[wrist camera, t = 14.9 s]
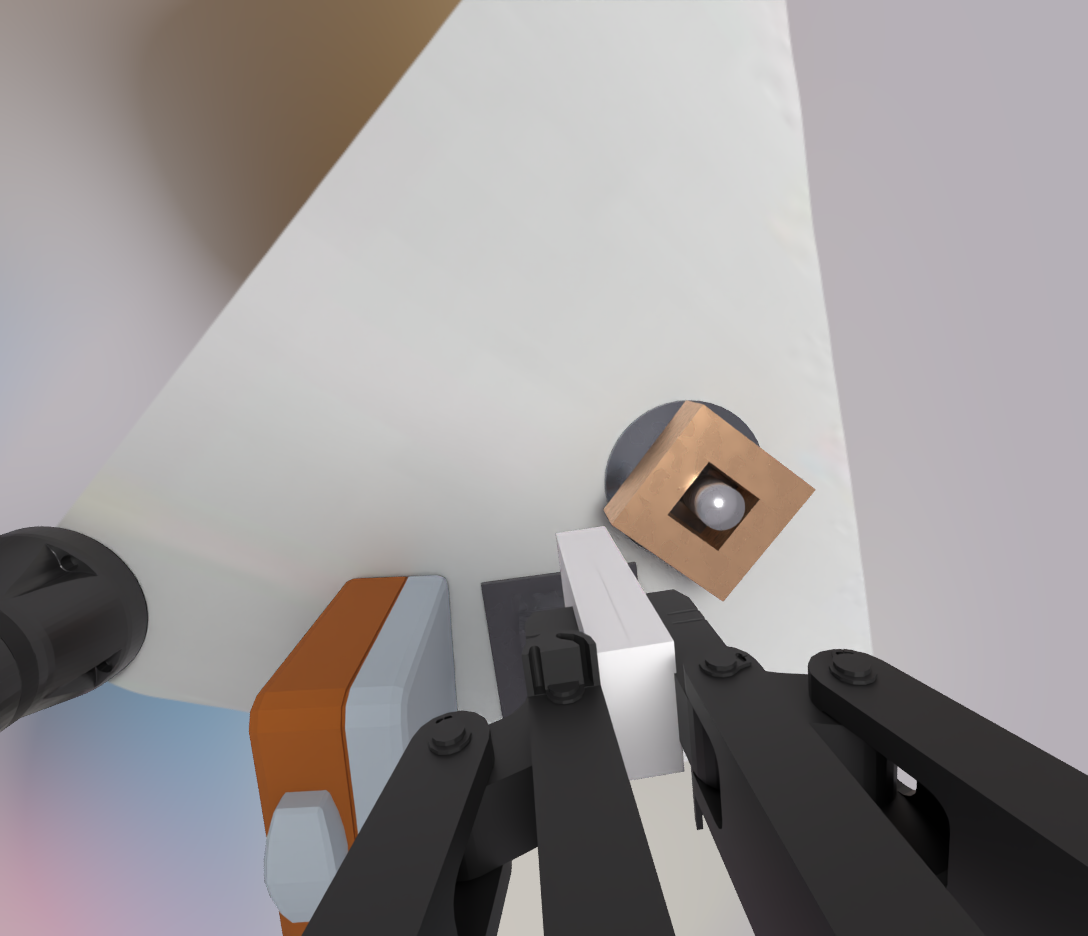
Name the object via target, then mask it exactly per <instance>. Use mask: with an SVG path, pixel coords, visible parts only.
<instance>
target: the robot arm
mask: <svg viewBox="0 0 1088 936" xmlns="http://www.w3.org/2000/svg"><path fill="white" fill-rule="evenodd" d="M556 540H557V547H558V555H559V563H560V571H561V579H562V587H563V594H564V602H565V607H564V608H557V609H551V610H544V611H538V612H532V614H531V615H530V617H529V618H528V620H527V621H526V623H525V636H526V645H525V646H524V648H523V651H522V655H521V656H522V663H523V670H524V676H525V683H526V690H527V698H526V700H525V702H524V703H523V704H522V705H521V706H520V708H519V709H517V710H516V711H515V712H513V713H512V714H511V715H509V716H507V717H505V718H503V719H501V720H499V721H496V722H494V723H491V724H489V725H488V723H487V721H486V719H485V718H484V717H482V716H480V715H479V714H477V713H475V712H468V711H456V712H449V713H446V714H443V715H440V716H438V717H435V718H433V719H432V720H430V721H429V722H427V723H426V724H424V725H423V726H421V727H420V729H419V730H418V731H417V732H416V733H415V735H414V736H413V737H412V739H411V740H410V742H409V744H408V746H407V748H406V749H405V751H404V753H403V755H402V757H401V758H400V760H399V762H398V764H397V765H396V767H395V769H394V771H393V773H392V774H391V776H390V778H389V780H388V782H387V783H386V785H385V787H384V789H383V791H382V792H381V794H380V796H379V798H378V799H377V801H376V803H375V805H374V807H373V808H372V810H371V812H370V814H369V816H368V817H367V819H366V821H365V823H364V825H363V826H362V828H361V830H360V832H359V833H358V835H357V837H356V839H355V841H354V842H353V844H352V846H351V848H350V850H349V851H348V853H347V855H346V857H345V858H344V860H343V862H342V864H341V866H340V867H339V869H338V871H337V873H336V875H335V876H334V878H333V880H332V882H331V884H330V885H329V887H328V889H327V891H326V892H325V894H324V896H323V898H322V900H321V901H320V903H319V905H318V907H317V909H316V910H315V912H314V914H313V916H312V918H311V919H310V921H309V923H308V925H307V926H306V928H305V930H304V932H303V934H302V935H301V936H497V932H498V928H499V923H500V919H501V915H502V910H503V906H504V902H505V897H506V893H507V889H508V884H509V880H510V875H511V869H512V860H513V859H515V858H517V857H519V856H521V855H523V854H525V853H527V852H528V851H530V850H532V849H534V848H536V847H538V855H539V870H540V885H541V899H542V913H543V928H544V936H675V933H674V929H673V926H672V923H671V919H670V916H669V913H668V909H667V906H666V902H665V900H664V896H663V892H662V889H661V886H660V882H659V879H658V876H657V872H656V869H655V866H654V862H653V859H652V856H651V852H650V849H649V846H648V842H647V839H646V835H645V832H644V829H643V825H642V822H641V818H640V815H639V812H638V808H637V805H636V802H635V799H634V795H633V792H632V788H631V785H630V782H629V781H630V780H636V779H642V778H648V777H654V776H660V775H666V774H672V773H677V772H684V761H683V750H684V752H685V754H686V756H687V758H688V760H689V763H690V765H691V772H692V786H693V798H694V811H695V821H696V826H697V830H700V829H703V820H702V815H704V818H705V820H706V822H707V825H708V827H709V829H710V831H711V834H712V836H713V839H714V841H715V843H716V846H717V848H718V850H719V852H720V855H721V857H722V860H723V862H724V864H725V867H726V869H727V871H728V873H729V876H730V878H731V880H732V883H733V885H734V887H735V890H736V892H737V894H738V897H739V899H740V901H741V904H742V906H743V908H744V911H745V913H746V915H747V917H748V920H749V922H750V924H751V926H752V929H753V931H754V934H755V936H1088V775H1086V774H1084V773H1082V772H1081V771H1079V770H1077V769H1075V768H1074V767H1072V766H1070V765H1068V764H1066V763H1065V762H1063V761H1061V760H1059V759H1057V758H1055V757H1054V756H1052V755H1050V754H1048V753H1047V752H1045V751H1043V750H1041V749H1040V748H1038V747H1036V746H1034V745H1032V744H1031V743H1029V742H1027V741H1025V740H1023V739H1022V738H1020V737H1018V736H1016V735H1015V734H1013V733H1011V732H1009V731H1007V730H1006V729H1004V728H1002V727H1000V726H998V725H997V724H995V723H993V722H991V721H990V720H988V719H986V718H984V717H982V716H980V715H979V714H977V713H975V712H974V711H972V710H970V709H968V708H966V707H964V706H963V705H961V704H959V703H958V702H956V701H954V700H952V699H950V698H948V697H947V696H945V695H943V694H941V693H940V692H938V691H936V690H934V689H932V688H931V687H929V686H927V685H925V684H923V683H922V682H920V681H918V680H916V679H915V678H913V677H911V676H909V675H908V674H906V673H904V672H902V671H900V670H898V669H897V668H895V667H893V666H891V665H890V664H888V663H886V662H884V661H882V660H880V659H878V658H876V657H873V656H871V655H869V654H866V653H862V652H857V651H853V650H848V649H843V650H842V649H832V650H827V651H822V652H819V653H817V654H816V655H814V656H812V657H811V659H810V661H809V663H808V674H790V673H776V672H768V671H765V670H764V669H763V667H762V666H761V665H760V664H759V663H758V661H757V660H756V659H754V658H753V657H752V656H751V655H749V654H748V653H747V652H744V651H742V650H739V649H737V648H733V647H727V646H726V645H725V643H724V642H723V641H722V640H721V638H720V637H719V636H718V634H717V633H716V632H715V630H714V629H713V628H712V627H711V625H710V624H709V623H708V621H707V620H705V618H704V616H703V615H702V614H701V612H700V611H698V609H697V607H696V606H695V605H694V603H693V602H692V601H691V599H690V598H689V597H687V596H685V595H683V594H681V593H679V592H678V591H676V590H674V589H673V590H666V591H660V592H653V593H646V594H645V592H644V590H643V589H642V587H641V585H640V584H639V582H638V580H637V579H636V577H635V575H634V574H633V572H632V570H631V569H630V567H629V565H628V564H627V562H626V560H625V559H624V557H623V555H622V554H621V552H620V550H619V549H618V547H617V545H616V544H615V542H614V540H613V539H612V537H611V535H610V534H609V532H608V530H607V529H606V527H605V526H601V527H594V528H587V529H580V530H573V531H566V532H559V533H556ZM146 628H147V609H146V604H145V600H144V596H143V594H142V591H141V589H140V586H139V584H138V582H137V581H136V579H135V577H134V576H133V574H132V573H131V571H130V570H129V569H128V567H127V566H126V565H125V564H124V563H123V562H122V561H121V560H120V559H119V558H118V557H117V556H116V555H115V554H114V553H113V552H111V551H110V550H109V549H108V548H106V547H105V546H103V545H102V544H100V543H98V542H97V541H95V540H93V539H91V538H89V537H87V536H85V535H82V534H80V533H77V532H74V531H70V530H66V529H62V528H56V527H29V528H22V529H18V530H15V531H12V532H9V533H6V534H3V535H0V732H1V731H3V730H4V729H5V728H7V727H8V726H10V725H11V724H12V723H14V722H15V721H17V720H18V719H19V718H21V717H24V716H27V715H30V714H32V713H35V712H38V711H40V710H42V709H46V708H48V707H51V706H54V705H56V704H59V703H62V702H65V701H67V700H70V699H73V698H75V697H78V696H81V695H83V694H86V693H88V692H90V691H92V690H94V689H96V688H97V687H99V686H101V685H102V684H104V683H105V682H107V681H108V680H109V679H111V678H112V677H113V676H114V675H116V674H117V673H118V672H120V671H121V670H122V669H123V668H125V667H126V666H127V665H128V664H129V663H130V662H131V661H132V660H133V658H134V657H135V656H136V654H137V653H138V651H139V649H140V648H141V645H142V643H143V640H144V637H145V633H146ZM682 747H683V748H682ZM897 766H898V767H899V768H901V769H902V770H903V771H905V772H906V773H907V774H909V775H910V776H912V777H913V778H914V779H915V780H917V789H916V790H912V789H911V788H909V787H907V786H906V785H904V784H903V783H902V782H900V781H899V780H898V779H897Z"/></svg>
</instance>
